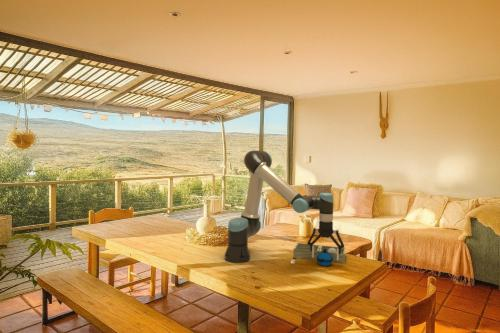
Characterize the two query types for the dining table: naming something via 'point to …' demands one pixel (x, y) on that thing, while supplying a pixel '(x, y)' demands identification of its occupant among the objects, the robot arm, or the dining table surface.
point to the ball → (332, 250)
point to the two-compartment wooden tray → (316, 252)
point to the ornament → (324, 258)
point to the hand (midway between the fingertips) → (325, 258)
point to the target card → (293, 261)
